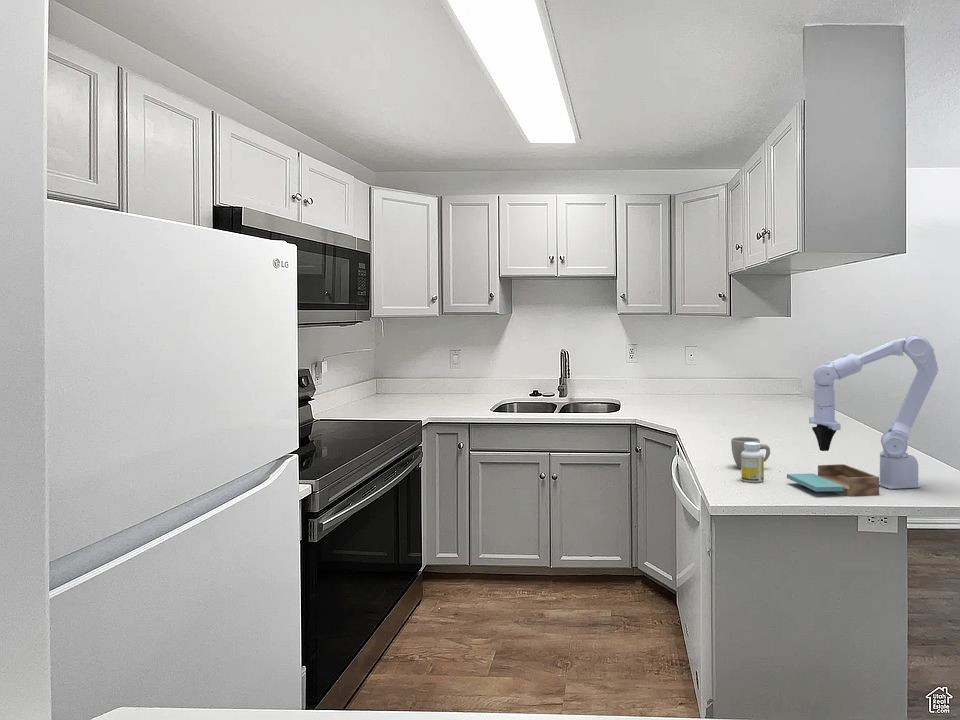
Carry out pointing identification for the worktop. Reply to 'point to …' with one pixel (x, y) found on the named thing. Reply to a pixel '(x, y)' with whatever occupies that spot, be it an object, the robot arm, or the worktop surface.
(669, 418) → the worktop surface
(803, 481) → the teal box lid
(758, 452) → the pill bottle
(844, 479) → the wooden box
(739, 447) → the mug
